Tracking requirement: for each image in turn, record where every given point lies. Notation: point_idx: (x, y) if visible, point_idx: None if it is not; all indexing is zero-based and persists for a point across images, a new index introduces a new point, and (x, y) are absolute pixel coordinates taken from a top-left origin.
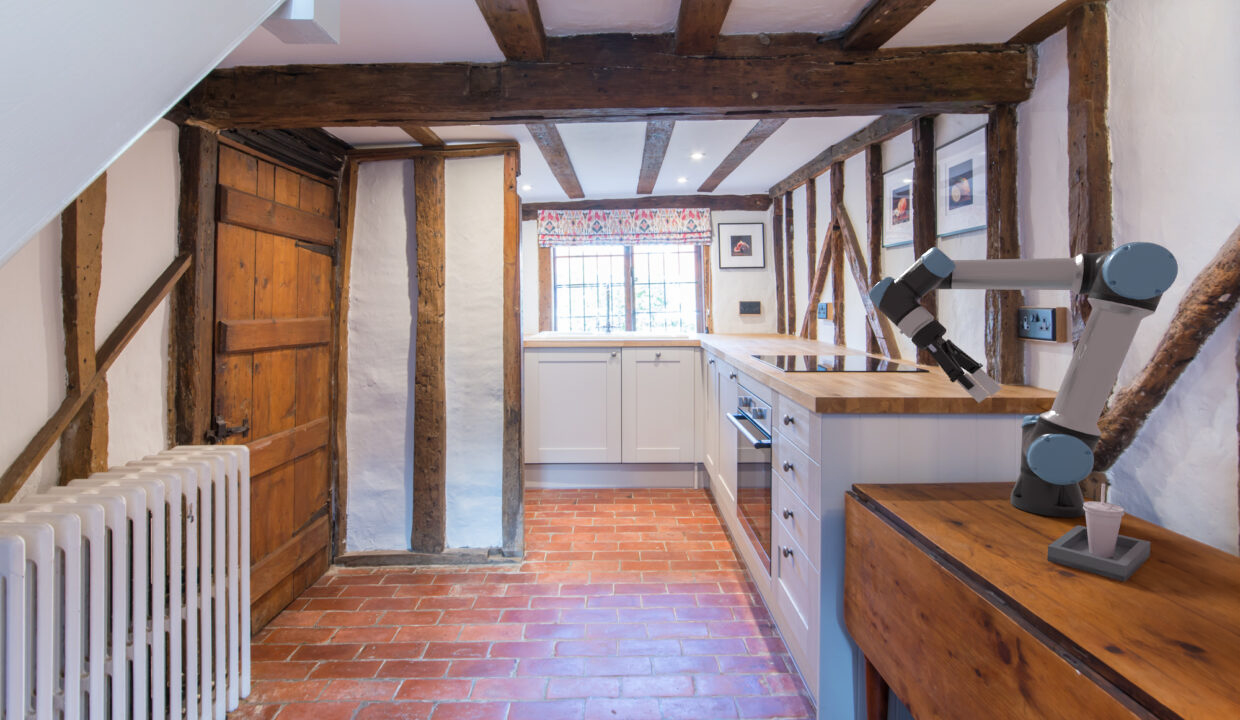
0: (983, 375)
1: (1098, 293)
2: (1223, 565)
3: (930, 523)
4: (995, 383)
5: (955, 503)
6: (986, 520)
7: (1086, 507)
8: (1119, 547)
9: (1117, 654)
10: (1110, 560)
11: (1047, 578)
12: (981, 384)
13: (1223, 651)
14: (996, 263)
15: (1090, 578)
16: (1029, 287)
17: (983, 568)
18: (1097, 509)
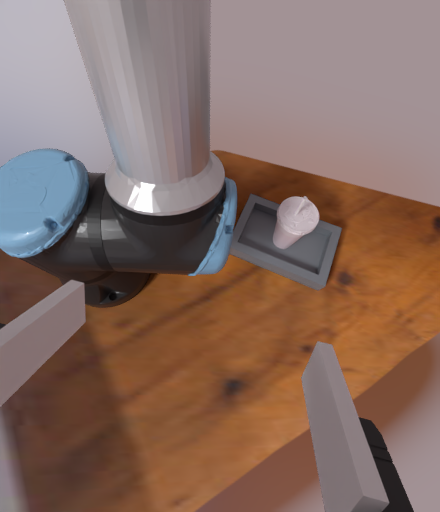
0: (8, 355)
1: None
2: (241, 158)
3: (254, 427)
4: (61, 300)
5: (131, 388)
6: (201, 345)
7: (307, 231)
8: (251, 220)
9: None
10: (334, 237)
11: (370, 297)
12: (40, 362)
13: (430, 206)
14: None
15: (343, 260)
16: None
17: (386, 358)
18: (317, 222)
